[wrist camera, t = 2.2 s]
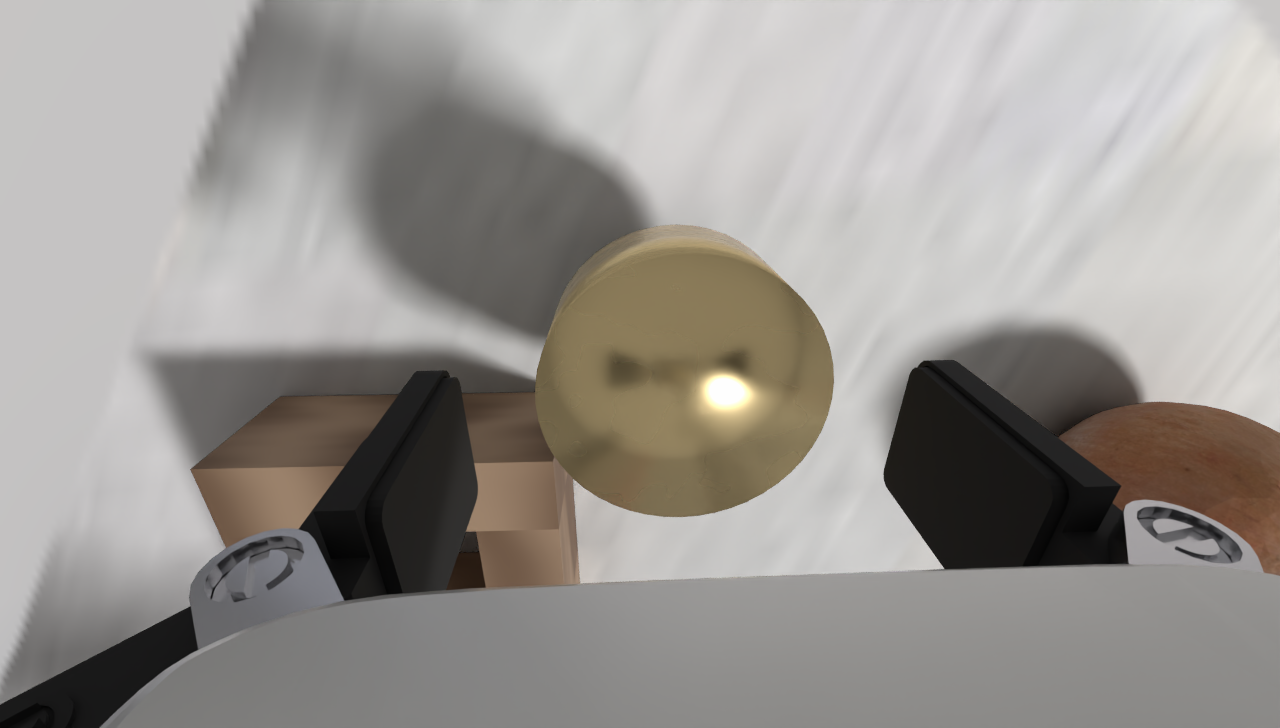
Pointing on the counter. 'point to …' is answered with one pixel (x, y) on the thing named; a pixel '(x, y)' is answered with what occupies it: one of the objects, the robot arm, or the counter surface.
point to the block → (334, 429)
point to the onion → (1192, 465)
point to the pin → (681, 374)
